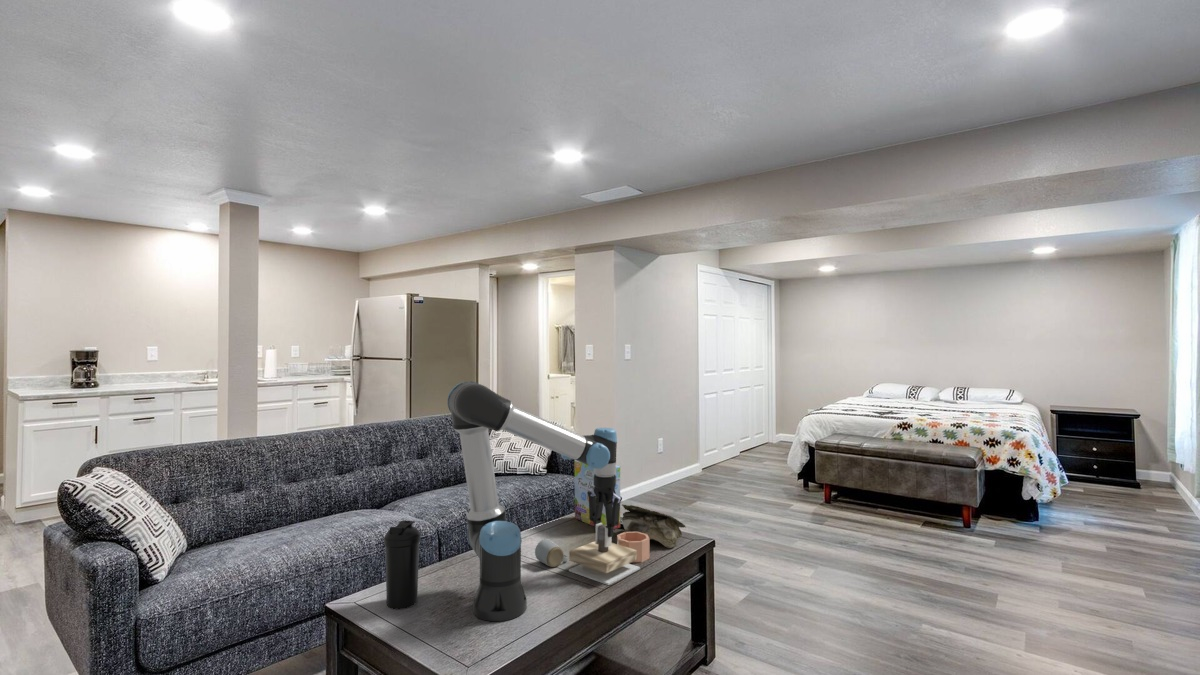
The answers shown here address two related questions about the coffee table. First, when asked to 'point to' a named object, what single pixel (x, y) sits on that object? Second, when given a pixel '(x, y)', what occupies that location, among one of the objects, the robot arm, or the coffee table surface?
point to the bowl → (636, 544)
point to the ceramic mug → (549, 553)
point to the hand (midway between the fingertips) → (603, 544)
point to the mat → (604, 577)
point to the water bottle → (402, 565)
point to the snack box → (585, 484)
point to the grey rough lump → (652, 525)
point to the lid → (602, 554)
